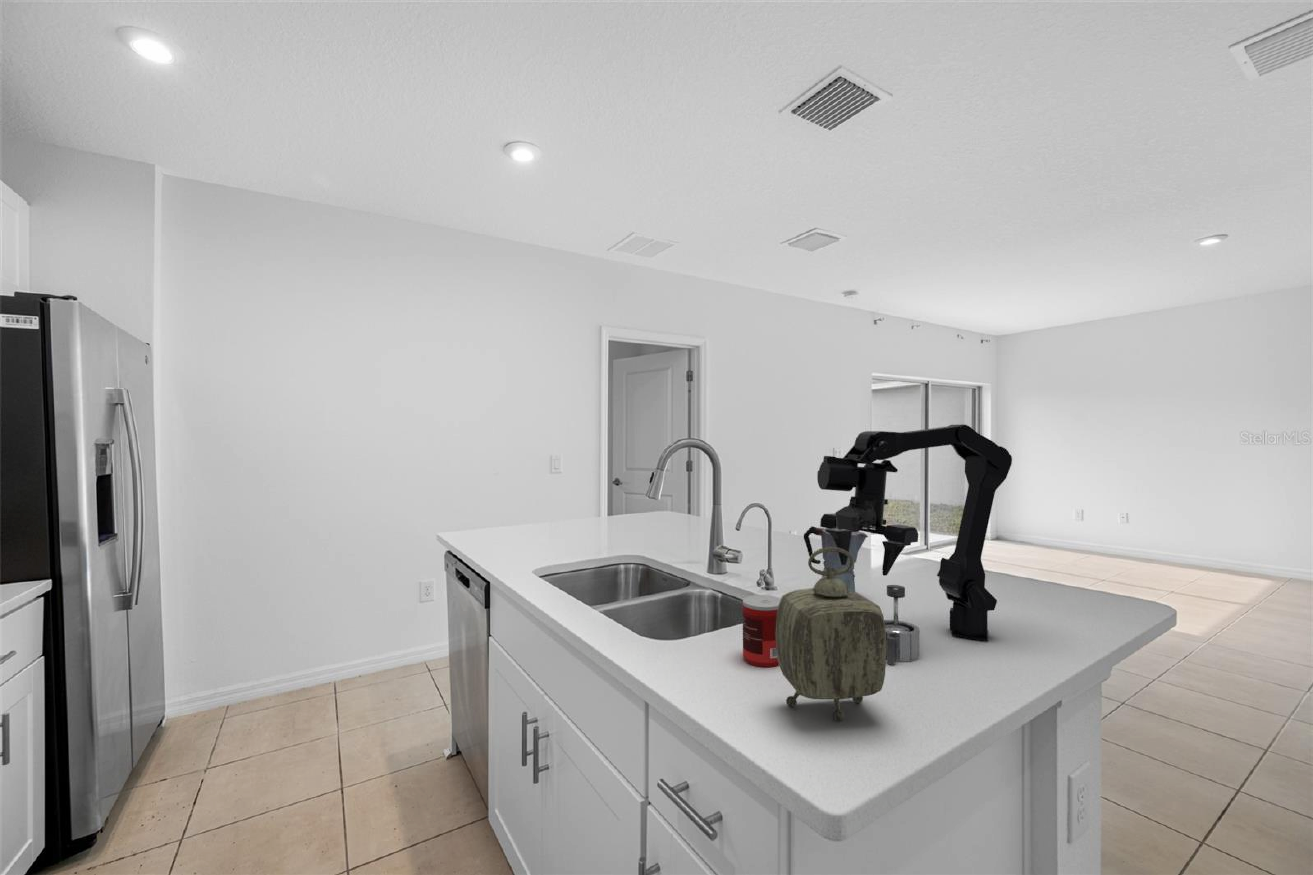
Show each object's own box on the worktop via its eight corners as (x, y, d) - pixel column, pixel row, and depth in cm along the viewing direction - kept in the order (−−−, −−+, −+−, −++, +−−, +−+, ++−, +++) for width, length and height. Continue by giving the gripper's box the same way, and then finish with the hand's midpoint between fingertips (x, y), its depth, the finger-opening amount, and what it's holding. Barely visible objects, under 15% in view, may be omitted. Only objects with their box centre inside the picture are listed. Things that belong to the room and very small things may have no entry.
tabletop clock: (863, 697, 93) (863, 540, 92) (893, 725, 84) (893, 552, 83) (775, 703, 91) (775, 543, 91) (796, 732, 82) (795, 555, 82)
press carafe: (921, 649, 112) (921, 624, 112) (915, 669, 103) (915, 641, 103) (877, 642, 116) (876, 617, 116) (867, 661, 107) (867, 633, 107)
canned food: (787, 654, 111) (786, 596, 111) (781, 670, 103) (781, 608, 103) (747, 649, 113) (746, 593, 113) (739, 664, 106) (738, 604, 106)
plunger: (910, 629, 112) (910, 585, 112) (907, 637, 108) (907, 591, 107) (884, 625, 114) (884, 582, 114) (880, 633, 110) (880, 588, 110)
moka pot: (871, 607, 140) (870, 523, 139) (804, 603, 143) (804, 522, 142) (865, 595, 149) (864, 518, 149) (803, 593, 152) (802, 516, 152)
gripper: (807, 487, 120) (801, 562, 120) (892, 499, 105) (885, 585, 105) (838, 487, 127) (832, 559, 127) (922, 499, 112) (916, 579, 112)
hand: (863, 570), depth 118 cm, fingers open, 9 cm apart
